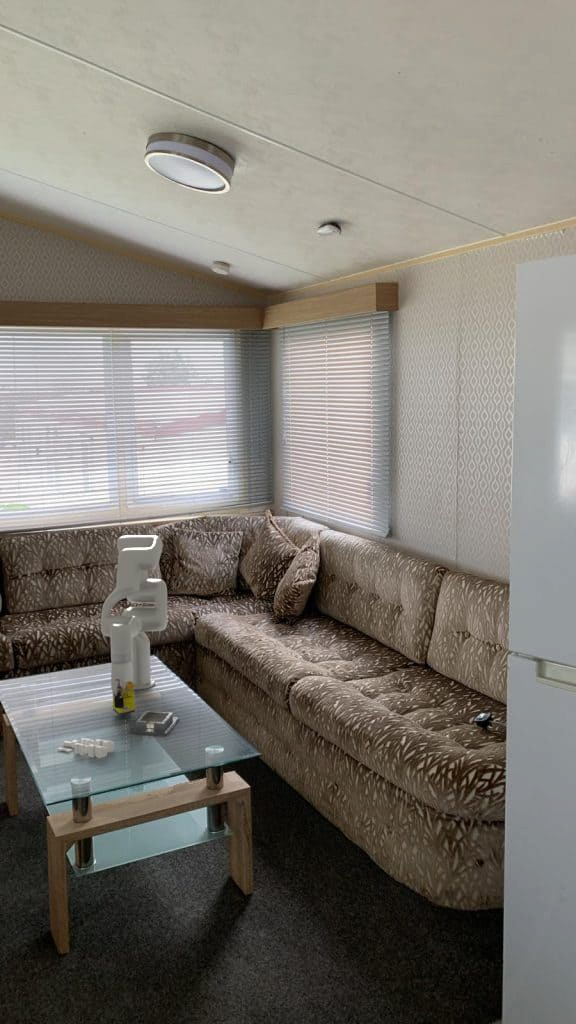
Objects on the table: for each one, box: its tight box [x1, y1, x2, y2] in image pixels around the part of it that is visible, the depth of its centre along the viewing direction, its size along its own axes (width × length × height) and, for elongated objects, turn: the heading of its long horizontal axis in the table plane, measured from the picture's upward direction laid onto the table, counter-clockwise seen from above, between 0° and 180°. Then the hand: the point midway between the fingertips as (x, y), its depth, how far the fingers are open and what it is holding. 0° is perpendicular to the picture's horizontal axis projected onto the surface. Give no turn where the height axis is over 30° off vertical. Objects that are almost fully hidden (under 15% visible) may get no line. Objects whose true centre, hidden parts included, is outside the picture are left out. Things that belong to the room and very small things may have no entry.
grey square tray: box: [129, 710, 180, 736], centre depth 295 cm, size 14×13×4 cm
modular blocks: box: [57, 737, 115, 759], centre depth 276 cm, size 20×7×4 cm, turn 73°
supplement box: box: [111, 681, 136, 716], centre depth 305 cm, size 6×6×11 cm
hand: (123, 702), depth 305 cm, fingers closed on supplement box, 8 cm apart
